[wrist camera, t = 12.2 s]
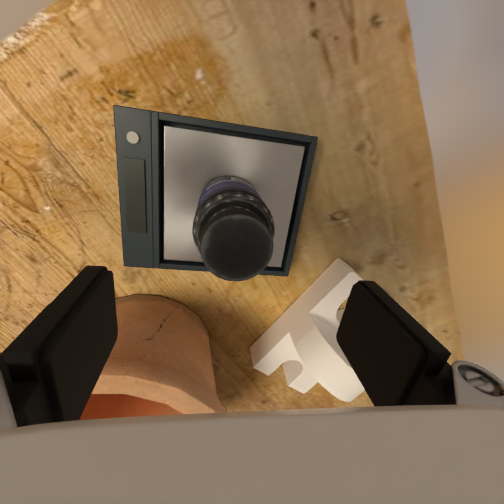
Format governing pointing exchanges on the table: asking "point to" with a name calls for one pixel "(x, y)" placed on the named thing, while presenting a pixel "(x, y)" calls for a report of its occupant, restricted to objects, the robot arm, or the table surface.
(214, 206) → the pill bottle
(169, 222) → the scale pan
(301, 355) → the block with arch cutout
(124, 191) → the scale
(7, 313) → the table surface
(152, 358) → the pottery
